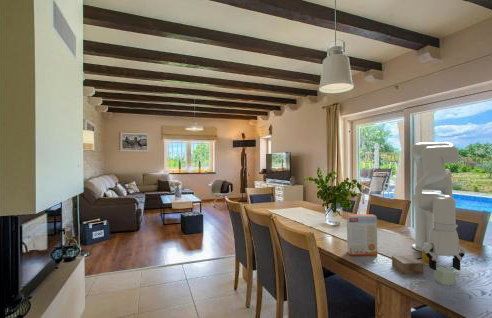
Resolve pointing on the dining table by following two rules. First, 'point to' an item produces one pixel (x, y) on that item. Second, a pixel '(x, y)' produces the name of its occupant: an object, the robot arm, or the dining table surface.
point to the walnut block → (408, 265)
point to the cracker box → (362, 234)
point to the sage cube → (444, 276)
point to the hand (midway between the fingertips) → (444, 268)
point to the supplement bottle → (424, 257)
